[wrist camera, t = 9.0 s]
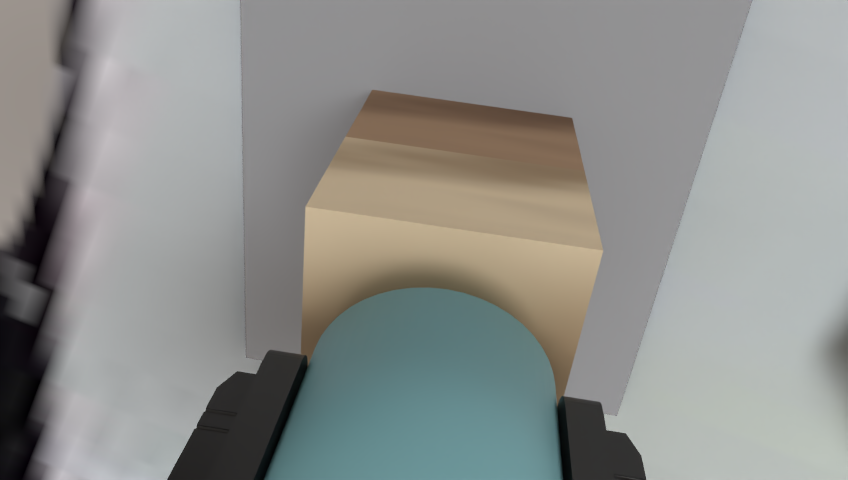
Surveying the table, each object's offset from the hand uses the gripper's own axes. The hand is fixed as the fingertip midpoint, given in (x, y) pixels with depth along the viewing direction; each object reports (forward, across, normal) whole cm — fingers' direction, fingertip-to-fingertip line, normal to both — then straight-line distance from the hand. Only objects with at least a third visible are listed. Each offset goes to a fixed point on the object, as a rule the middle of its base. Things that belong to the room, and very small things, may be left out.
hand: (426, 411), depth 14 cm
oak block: (+6, 0, 0) cm, 6 cm away
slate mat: (+11, 0, 0) cm, 11 cm away
